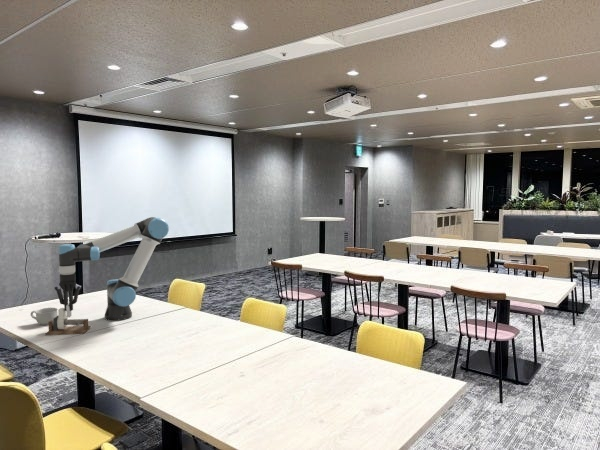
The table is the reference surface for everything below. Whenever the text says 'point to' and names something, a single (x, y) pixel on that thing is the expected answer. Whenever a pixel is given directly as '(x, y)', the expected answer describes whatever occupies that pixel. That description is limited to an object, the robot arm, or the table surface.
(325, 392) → the table surface
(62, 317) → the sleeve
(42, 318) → the teacup
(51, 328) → the pipe rig
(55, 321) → the charcoal slab
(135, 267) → the robot arm
